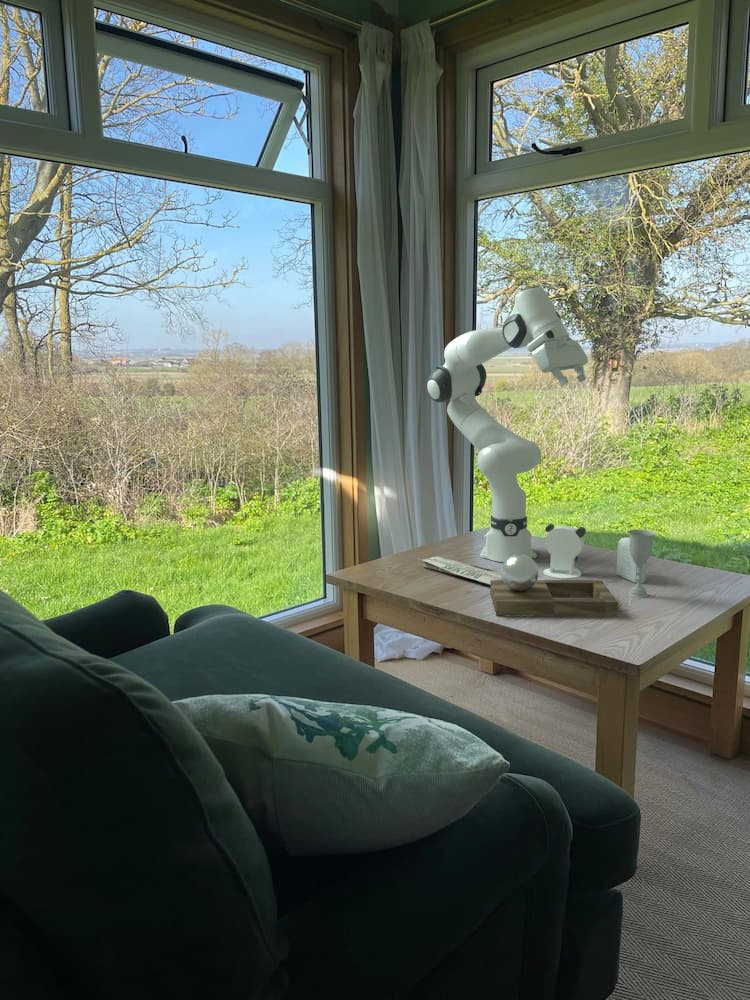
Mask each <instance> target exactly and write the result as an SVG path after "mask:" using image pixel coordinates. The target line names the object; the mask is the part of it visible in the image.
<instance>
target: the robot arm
mask: <svg viewBox="0 0 750 1000" xmlns="http://www.w3.org/2000/svg"><path fill="white" fill-rule="evenodd" d="M524 347H527V349H528V351H529V352H530V353H531V355H532V358H533V360H534V361H535V364H536V366H537V367H538V369H539V370H540V371H541V372H542V373H544V374H546V373H551V374H552V376H553V377H554V378H555V379H556V380H557V381H558V383H559V385H561V386H565V385H566V384H568V383H569V379H568V377H567V376H566V375H564V374H563V373H562V371H566V370H573V369H574V372H576V375H577V376H576V379H577V380H578V382H579V383H583V382H584V381H586V380H587V376H586V374H585V369H584V366H585V365H586V364H588V363H589V359H588V355H587V353H586V352H585V350H583V349H584V348H583V347H582V346H581V344H580V343H579V342H578V341H577V340H576V339H572V337H570V335H569V333H568V331H567V329H566V326H565V325H564V323H563V321H562V318H561V315H560V313H559V312H558V311H557V310H556V307H555V305H554V304H553V301H552V299H551V298H550V296H549V294H548V293H547V292H546V291H545V289H544V288H543V287H542V286H540V285H534V286H530V287H526V288H524V289H522V290H520V291H519V292H518V293H517V294H516V295H515V297H514V306H513V308H512V311H511V312H510V315H509V316H508V317H506V319H505V321H504V322H503V325H502V327H493V328H486V329H475V330H470V331H467V332H465V333H463V334H460V335H458V336H456V337H455V338H454V339H453V340H451V341H450V342H449V343H448V344H447V345H446V346H445V348H444V351H443V357H444V364H443V365H436V367H435V369H434V371H433V372H432V373H431V374H430V375H429V377H428V378H427V381H426V391H427V394H428V395H429V397H430V398H431V400H432V401H434V402H435V403H446V402H448V405H447V407H446V408H447V409H446V412H447V415H448V417H449V419H450V420H451V422H452V424H453V425H454V426H455V427H456V428H457V430H458V431H459V432H460V433H461V435H463V436H464V437H465V438H466V440H468V441H469V442H470V443H471V445H472V446H473V447H475V448H476V449H478V450H480V451H479V452H478V455H477V458H476V464H477V468H478V470H479V472H480V473H481V474H482V475H483V476H484V477H485V478H486V479H487V482H488V484H489V487H490V491H491V493H490V494H491V515H490V519H489V521H490V528H489V530H488V531H487V533H486V534H484V535H483V541H484V542H486V543H484V545H483V547H482V550H481V552H480V553H479V554H480V555H479V558H482V559H488V560H491V561H493V562H494V561H495V562H500V563H504V561H505V560H506V559H507V558H508V557H510V556H512V555H515V554H523V555H527V556H529V557H530V558H531V559H535V558H537V557H538V555H537V553H536V552H535V551H533V550H532V549H533V548H532V547H533V545H532V542H533V540H532V533H531V531H529V530H528V528H527V527H528V516H527V494H526V491H525V490H524V489H523V488H521V486H520V485H519V481H518V477H517V476H518V474H523V473H527V472H529V471H531V470H533V469H535V468H536V467H538V466H539V465H540V463H541V460H542V451H541V448H540V446H539V444H537V443H536V442H535V441H532V440H529V439H527V438H525V437H522V436H520V435H518V434H517V433H515V432H513V431H511V430H510V429H508V428H507V427H505V426H504V425H502V424H501V423H500V422H498V421H497V420H496V419H495V418H494V417H493V416H492V415H491V414H490V413H489V412H488V411H487V410H486V409H485V408H484V407H483V406H481V404H479V402H478V401H477V400H476V397H479V396H480V395H481V394H482V392H483V388H484V387H485V385H486V381H487V371H486V368H485V366H484V365H483V364H485V363H486V362H488V361H490V360H491V359H493V358H495V357H496V356H499V355H501V354H502V353H504V352H506V351H508V350H510V349H511V348H513V349H520V348H524Z"/></svg>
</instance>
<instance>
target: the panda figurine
mask: <svg viewBox="0 0 750 1000" xmlns="http://www.w3.org/2000/svg"><path fill="white" fill-rule="evenodd" d="M545 532H546V533H547V535H546V537H545V542H544V544H545V545H544V546H545V548H546V550H547V552H548V553H549V554H550V563H549V564H550V566H549V567H548V568H546V569H544V570H543V574H544V575H545V576H546V575H547V576H546V577H549V576H550V577H549V578H552V577H553V579H558V578H559V579H558V580H574V579H577V577H578V578H580V577H581V576H582V571H580V570H579V569H576V568H575V563H576V561H577V560H578V559H579V556H578V555H579V554H580V553H581V552H582V550H583V549H584V547H585V540H584V536H585V535H586V533H587V531H586V528H585V527H584V526H580V527H578V528H575V527H573V526H569V525H557V526H555V525H554V523H548V525H547V526H546V527H545Z"/></svg>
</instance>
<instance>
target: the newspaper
mask: <svg viewBox="0 0 750 1000" xmlns="http://www.w3.org/2000/svg"><path fill="white" fill-rule="evenodd" d="M418 560H421V561H423V562H422V565H421V566H422V567H423V568H426V569H430V570H433V571H437V572H440V573H445V574H449V575H453V576H456V577H460V578H463V579H467V580H470V581H473V582H478V583H482V584H485V585H489V586H490V580H502V577H501V571H497V570H493V569H489V568H485V567H481V566H477V565H474V564H470V563H467V562H466V563H465V562H461V561H457V560H453V559H450V558H449V559H448V558H446V557H441V556H432V557H429V558H425V559H424V558H423V559H421V558H418Z"/></svg>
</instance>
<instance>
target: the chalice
mask: <svg viewBox="0 0 750 1000" xmlns="http://www.w3.org/2000/svg"><path fill="white" fill-rule="evenodd" d="M627 533H628V536H629V538H630V542H629V550H630V554H631V556H632V559H633V561H634V563H635V564H636V565H638V569H637V571H636V572H637V577H636V579H637V583H635V585H633V586H632V587H631V589H630V590H629V593H628V596H630V597H632V596H633V597H632V598H636V597H639V599H643V598H644V599H645V598H648V596H649V595H648V593H647V590H646V587H645V586H643V585H642V583H640V582H641V580H642V578H641V573H642V570H641V567H642V565H645V564H646V562H647V563H648V560H649V559H650V556H651V555H652V552H653V539H654V537H655V535H656V532H654V531H652V530H647V529H629V530H628V531H627Z"/></svg>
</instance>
